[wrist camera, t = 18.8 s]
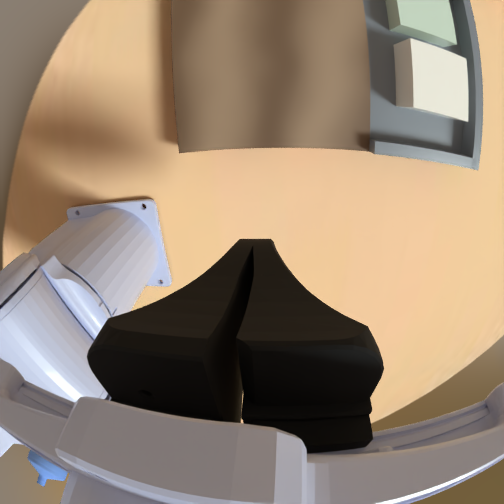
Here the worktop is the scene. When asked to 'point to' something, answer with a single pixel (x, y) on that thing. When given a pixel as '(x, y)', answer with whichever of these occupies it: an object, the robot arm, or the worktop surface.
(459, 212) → the worktop surface
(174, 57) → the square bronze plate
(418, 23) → the sage tile
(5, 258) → the worktop surface
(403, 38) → the slate tray
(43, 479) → the water jug
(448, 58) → the cream tile
